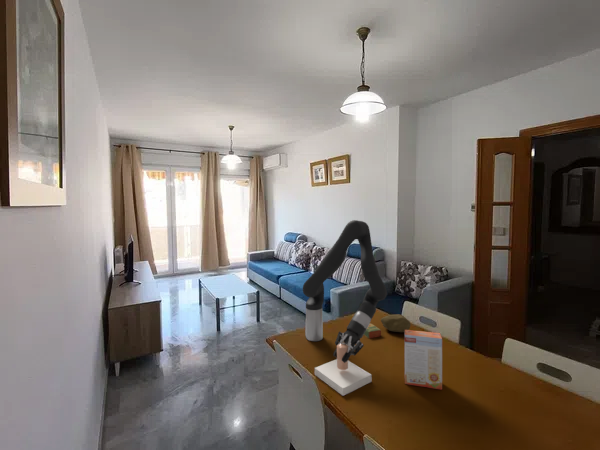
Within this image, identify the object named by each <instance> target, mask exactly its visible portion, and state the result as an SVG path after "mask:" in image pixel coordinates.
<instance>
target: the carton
mask: <svg viewBox="0 0 600 450" xmlns="http://www.w3.org/2000/svg"><path fill="white" fill-rule="evenodd" d="M363 336H364V337H366V338H367V339H374V338H379V337H382V330H381V329H380V328H379V327H377V326H376V325H374V324H373V323H371V322H370V324H369V326H368V328H367V330H366V331H365V333H364V335H363Z"/></svg>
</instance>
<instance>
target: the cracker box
mask: <svg viewBox="0 0 600 450" xmlns="http://www.w3.org/2000/svg"><path fill="white" fill-rule="evenodd" d="M404 384H405V385H409V386H416V387H421V388H429V389H435V390H443V338H442V335H441V333H440V332H432V331H431V332H430V331H422V330H411V329H409V330H405V332H404Z"/></svg>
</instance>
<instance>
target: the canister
mask: <svg viewBox="0 0 600 450" xmlns="http://www.w3.org/2000/svg"><path fill="white" fill-rule="evenodd" d="M336 348H337V358H336V359H337V368H338V369H340V370H346V369H348V361H349V359H348V360H347V362H345V363H344V362H343V361H342V358H343V356H344V354H345V353H346V352H347V348H348V345H346V344H338V345H336Z"/></svg>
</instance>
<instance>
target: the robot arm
mask: <svg viewBox="0 0 600 450" xmlns="http://www.w3.org/2000/svg"><path fill="white" fill-rule="evenodd" d="M371 237H372V236H371V232H370V226H369V224H368V223H366V222H365V221H363V220H358V219H357V220H355V219H352V220H350V221H348V222H347V223H346V225H345V226H344V228H343V230H342V232H341V233H340V235H339V237H338V238H337V240H336V242H335V243H333V245H332V247H331V248H330V249H329V251H328V252H327V254H325V256H324V257H323V259H321V262H320V263H319V265H318V266H317V268H316V269H315V271H314V272H313V273H312V274H311V275H310V276H309V277H308V279H306V281H305V282H304V284H303V285H302V293H303V295H304V296H305V297H306V298H308V299H307V301H306V303H305V320H304V322H305V324H304V325H305V326H304V330H305V331H304V334H305V338H306V340H308V341H311V342H320V341H322V340H323V337H324V336H323V335H324V334H323V333H324V332H323V329H324V328H323V326H324V325H323V304H324V301H325V285H324V282H325V281H326V280H328V279H329V278H330V277H331V276H333V274H334V273H336V272H337V271H338V270H339V268H340V267H341V266H342V264H343V263H344V261H345V259H346V255H347V251H348V249H349V247H350V246H351V245H352V244H353V242H355V241H356V240H357V241H358V243H359V246H360V267H361V270H362V275H363V278H364V280H365V282H367V283H368V285H369V288H368V290H367V291H366V293H365V295H364V297H363V299H362V303H361V304H360V305H359V307H358V309H357V311H356V312H355V313H354V315H353V316H352V318H351V320H350V321H349V323H348V325H347V326H346V330H345V331H344V332H341V331H338V333H337V337H336V339H335V342H334V344H335V346H337V345H338V344H346V345H347V346H348V348H347V352H346V353H345V354H344V356H343V358H342V361H343V362H344V363H345V362H347V360H348V361H349V359H350V357H351V356H356V355H357V354H358V353H359V352H360V351H361V350H362V349H363V347H365V346H364V345H365V344H363V342H361V339H362V338H363V337H364V336H365V335H364V333H365V331H366V330H367V328H368V326H369V324H370V323H371V321H372V319H373V318H374V315H375V314H376V312H377V305H378V303H379V302H380V301H384V300H385V299H387V295H388V294H387V293H388V292H387V288H386V285H385V283H384V281H383V279H382V278H381V275H380V273H379V268H378V266H377V263H376V260H375V255H374V251H373V245H372V238H371ZM333 357H335V358H336V359H337V347H336V348H335V349H334V351H333Z"/></svg>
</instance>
